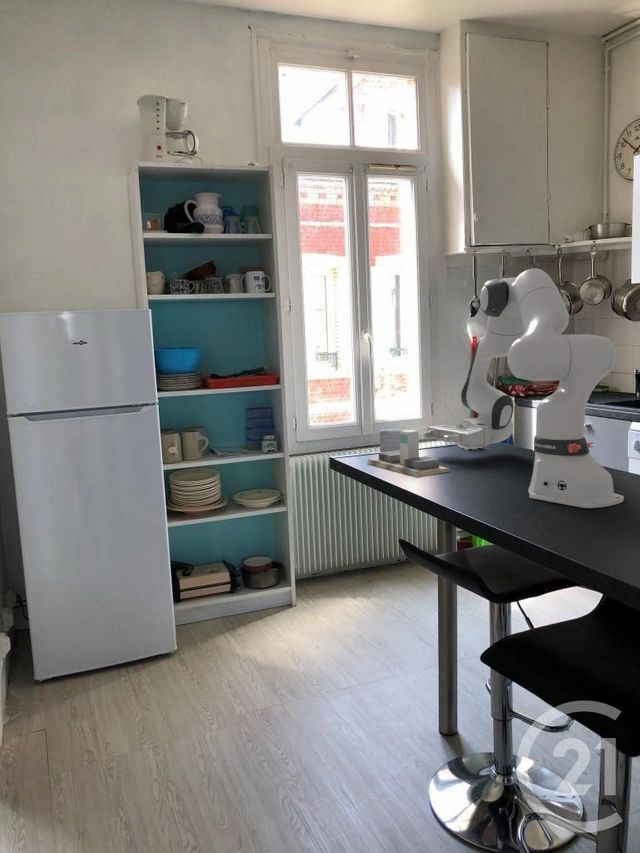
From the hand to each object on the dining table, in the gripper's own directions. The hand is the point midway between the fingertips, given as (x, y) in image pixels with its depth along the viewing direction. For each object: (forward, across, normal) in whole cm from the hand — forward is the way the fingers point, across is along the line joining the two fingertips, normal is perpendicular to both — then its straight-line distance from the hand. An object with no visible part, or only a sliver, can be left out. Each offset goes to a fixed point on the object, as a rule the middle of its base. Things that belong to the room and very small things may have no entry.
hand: (435, 437), depth 213 cm
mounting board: (+11, 0, +8) cm, 14 cm away
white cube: (-27, -14, +8) cm, 31 cm away
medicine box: (+3, -18, +8) cm, 20 cm away
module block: (+10, 0, +7) cm, 12 cm away
